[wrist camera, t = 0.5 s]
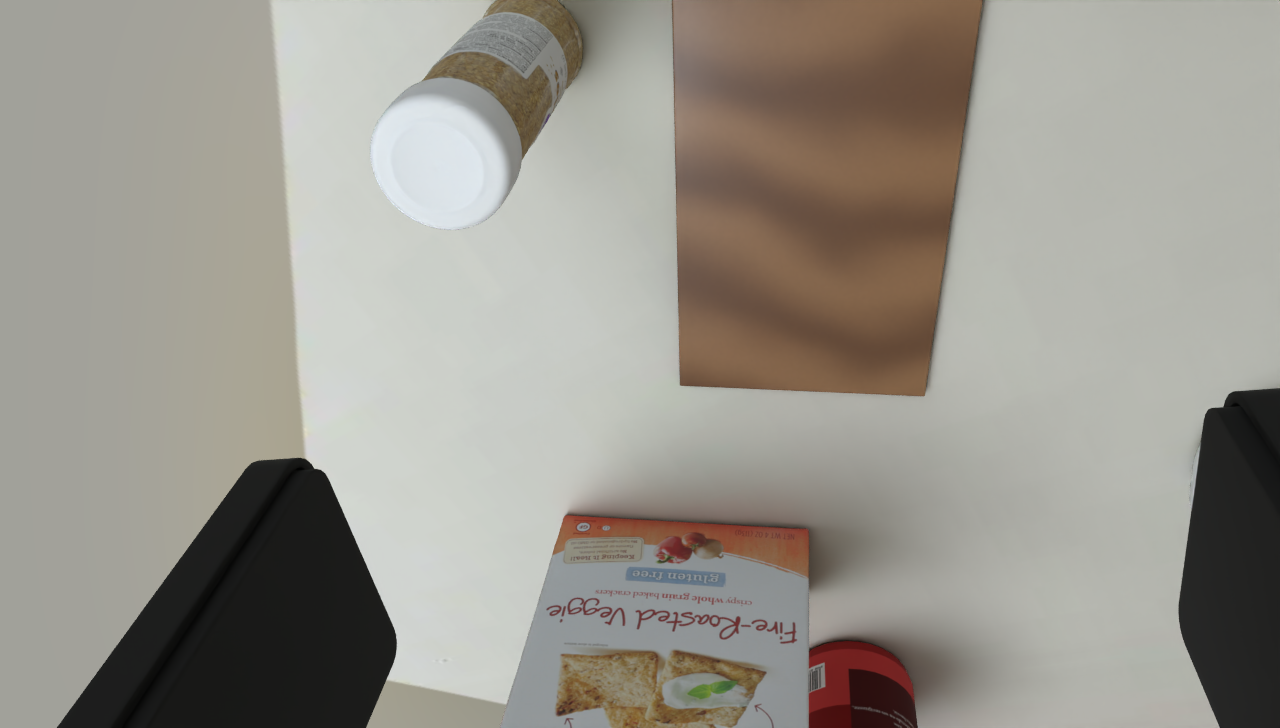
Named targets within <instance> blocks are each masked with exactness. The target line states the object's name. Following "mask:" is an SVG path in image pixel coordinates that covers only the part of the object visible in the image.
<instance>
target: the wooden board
mask: <svg viewBox="0 0 1280 728" xmlns="http://www.w3.org/2000/svg"><path fill="white" fill-rule="evenodd" d="M982 3H983V0H672V20H673V69H674V118H675V166H676V215H677V264H678V313H679V362H680V385H681V386H701V387H724V388H747V389H770V390H793V391H816V392H839V393H862V394H885V395H907V396H925V391H926V384H927V377H928V370H929V363H930V357H931V350H932V343H933V336H934V329H935V323H936V316H937V309H938V302H939V295H940V289H941V282H942V275H943V268H944V261H945V254H946V248H947V241H948V234H949V227H950V220H951V214H952V207H953V200H954V193H955V186H956V180H957V173H958V166H959V159H960V152H961V146H962V139H963V132H964V125H965V118H966V112H967V105H968V98H969V91H970V84H971V77H972V71H973V64H974V57H975V50H976V43H977V37H978V30H979V23H980V16H981V9H982Z"/></svg>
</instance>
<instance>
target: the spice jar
mask: <svg viewBox="0 0 1280 728" xmlns="http://www.w3.org/2000/svg"><path fill="white" fill-rule="evenodd" d="M582 53H583V46H582V38H581V35H580V32H579V28H578V26H577V24H576V22H575V21H574V20H573V18H572V16H571V14H570V13H569V12H568V11H567V10H566V9H565V8H564V7H563V6H562V5H561V4H560V3H559V2H558V1H557V0H497V1H496V2H494V3H493V4H492V5H491V6H490V7H489V9H488V10H487V11H486V13H485V15H484V17H483V19H481V20H479V21H478V22H477V23H476V24H475V25H474V26H473V27H472V28H471V29H470V30H468V31H467V32H466V33H465V34H464V35H463V36H462V37H461V38H460V39H459V40H458V41H457V42H456V43H455V44H454V45H453V46H452V47H451V49H450V50H449V51H448V52H447V53H446V54H445V55H444V56H443V57H442V58H441V59H440V60H439V61H438V62H437V63H436V64H435V65H434V66H433V67H432V68H431V70H430V71H429V72H428V74H427V76H426V77H425V78H424V79H423V80H422V81H421V82H419V83H417V84H415V85H413V86H411V87H409V88H408V89H406V90H405V91H404V92H403V93H402V94H401V95H400V96H398V97H397V98H396V99H395V100H394V101H393V103H392V104H391V105H390V106H389V107H388V108H387V110H386V111H385V112H384V113H383V115H382V116H381V117H380V119H379V120H378V122H377V124H376V126H375V129H374V131H373V134H372V139H371V145H370V157H371V164H372V168H373V172H374V175H375V178H376V180H377V182H378V184H379V186H380V188H381V189H382V191H383V193H384V194H385V195H386V197H387V198H388V199H389V201H390V202H391V203H392V204H393V205H394V206H395V207H396V208H397V209H399V210H400V211H401V212H402V213H403V214H405V215H406V216H408V217H409V218H411V219H413V220H415V221H417V222H419V223H421V224H424V225H426V226H429V227H433V228H438V229H444V230H459V229H465V228H469V227H472V226H475V225H477V224H480V223H482V222H483V221H485V220H487V219H488V218H490V217H491V216H492V215H493V214H494V213H495V212H496V211H497V210H498V209H499V208H500V206H501V205H502V204H503V202H504V201H505V199H506V198H507V196H508V194H509V193H510V191H511V189H512V187H513V186H514V184H515V182H516V180H517V177H518V174H519V171H520V168H521V162H522V159H523V158H524V156H525V154H526V153H527V151H528V149H529V148H530V147H531V146H532V144H533V143H534V142H535V140H536V138H537V137H538V135H539V133H540V132H541V130H542V129H543V127H544V125H545V124H546V122H547V121H548V119H549V117H550V116H551V114H552V112H553V111H554V109H555V107H556V106H557V104H558V103H559V101H560V99H561V97H562V95H563V93H564V90H565V89H566V88H568V86H569V85H570V84H571V83H572V81H573V80H574V79H575V77H576V76H577V74H578V71H579V69H580V65H581V62H582Z"/></svg>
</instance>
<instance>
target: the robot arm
mask: <svg viewBox="0 0 1280 728" xmlns="http://www.w3.org/2000/svg"><path fill="white" fill-rule="evenodd" d="M1179 622H1180V629H1181V633H1182V637H1183V640H1184V643H1185V646H1186V648H1187V650H1188V653H1189V655H1190V658H1191V660H1192V662H1193V665H1194V667H1195V669H1196V672H1197V674H1198V677H1199V679H1200V681H1201V684H1202V686H1203V689H1204V691H1205V693H1206V696H1207V698H1208V700H1209V703H1210V705H1211V708H1212V710H1213V712H1214V715H1215V717H1216V720H1217V722H1218V724H1219V727H1220V728H1280V388H1277V389H1263V390H1249V391H1235V392H1232V393H1230V394H1229V395H1228V397H1227V398H1226V400H1225V404H1224V407H1221V408H1211V409H1209V410H1208V411H1207V413H1206V414H1205V418H1204V423H1203V431H1202V438H1201V445H1200V453H1199V460H1198V467H1197V475H1196V482H1195V489H1194V497H1193V504H1192V511H1191V519H1190V526H1189V533H1188V541H1187V548H1186V555H1185V562H1184V570H1183V577H1182V584H1181V592H1180V599H1179ZM396 648H397V640H396V633H395V630H394V627H393V625H392V623H391V620H390V618H389V616H388V614H387V611H386V609H385V607H384V604H383V602H382V600H381V598H380V595H379V593H378V591H377V588H376V586H375V584H374V582H373V579H372V577H371V575H370V573H369V570H368V568H367V566H366V563H365V561H364V559H363V557H362V554H361V552H360V550H359V548H358V545H357V543H356V541H355V538H354V536H353V534H352V532H351V529H350V527H349V525H348V522H347V520H346V518H345V516H344V513H343V511H342V509H341V507H340V504H339V502H338V500H337V497H336V495H335V493H334V491H333V488H332V486H331V484H330V481H329V479H328V478H327V476H326V474H325V473H324V472H323V471H322V470H318V469H314V468H313V466H312V464H311V463H310V462H308V461H307V460H306V459H302V458H290V459H276V460H263V461H262V460H261V461H256V462H253V463H251V464H250V465H249V466H248V467H247V468H246V469H245V471H244V472H243V473H242V475H241V476H240V478H239V479H238V480H237V482H236V483H235V485H234V486H233V487H232V489H231V490H230V491H229V493H228V494H227V495H226V497H225V498H224V500H223V501H222V502H221V504H220V505H219V506H218V508H217V509H216V511H215V512H214V513H213V515H212V516H211V517H210V519H209V520H208V522H207V523H206V524H205V526H204V527H203V528H202V530H201V531H200V532H199V534H198V535H197V537H196V538H195V539H194V541H193V542H192V544H191V545H190V546H189V547H188V549H187V550H186V552H185V553H184V554H183V556H182V557H181V558H180V560H179V561H178V563H177V564H176V565H175V567H174V568H173V569H172V571H171V572H170V574H169V575H168V576H167V578H166V579H165V580H164V582H163V584H162V585H161V586H160V587H159V589H158V590H157V591H156V593H155V594H154V595H153V597H152V598H151V600H150V601H149V602H148V604H147V605H146V606H145V608H144V609H143V611H142V612H141V613H140V615H139V616H138V617H137V619H136V620H135V622H134V623H133V624H132V626H131V627H130V628H129V630H128V631H127V632H126V634H125V635H124V637H123V638H122V639H121V641H120V642H119V644H118V645H117V646H116V648H115V649H114V650H113V652H112V653H111V655H110V656H109V657H108V659H107V660H106V662H105V663H104V664H103V665H102V667H101V668H100V669H99V671H98V672H97V674H96V675H95V676H94V678H93V679H92V680H91V682H90V683H89V685H88V686H87V687H86V689H85V690H84V691H83V693H82V694H81V695H80V697H79V698H78V700H77V701H76V703H75V704H74V705H73V706H72V708H71V709H70V711H69V712H68V713H67V715H66V716H65V717H64V719H63V720H62V722H61V723H60V724H59V726H58V727H57V728H366V726H367V724H368V722H369V719H370V717H371V715H372V712H373V710H374V708H375V705H376V703H377V701H378V698H379V696H380V693H381V691H382V689H383V686H384V684H385V682H386V679H387V677H388V675H389V672H390V670H391V668H392V665H393V663H394V659H395V656H396Z"/></svg>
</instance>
